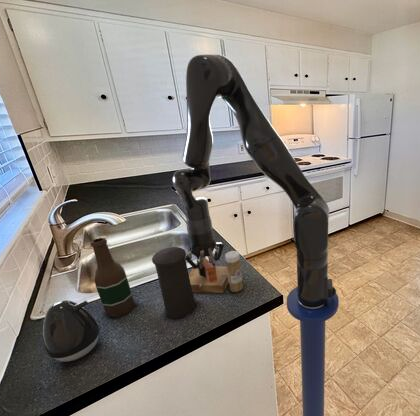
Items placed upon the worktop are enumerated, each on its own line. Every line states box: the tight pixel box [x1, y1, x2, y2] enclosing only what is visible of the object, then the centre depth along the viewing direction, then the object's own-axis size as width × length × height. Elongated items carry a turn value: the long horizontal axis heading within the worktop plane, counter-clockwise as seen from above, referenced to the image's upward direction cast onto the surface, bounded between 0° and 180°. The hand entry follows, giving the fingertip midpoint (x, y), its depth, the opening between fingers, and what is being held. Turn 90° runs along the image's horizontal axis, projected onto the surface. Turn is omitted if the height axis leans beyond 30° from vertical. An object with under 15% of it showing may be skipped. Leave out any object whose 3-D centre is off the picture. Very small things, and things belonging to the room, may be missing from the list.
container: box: [151, 246, 196, 319], centre depth 79 cm, size 9×9×20 cm
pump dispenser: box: [42, 299, 101, 363], centre depth 66 cm, size 10×10×15 cm
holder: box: [203, 257, 217, 282], centre depth 92 cm, size 9×3×5 cm, turn 43°
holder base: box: [188, 265, 229, 294], centre depth 94 cm, size 14×13×3 cm
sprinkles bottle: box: [224, 250, 244, 293], centre depth 89 cm, size 5×5×14 cm
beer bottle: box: [90, 237, 135, 318], centre depth 78 cm, size 8×8×24 cm
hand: (207, 273), depth 93 cm, fingers closed on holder, 2 cm apart
